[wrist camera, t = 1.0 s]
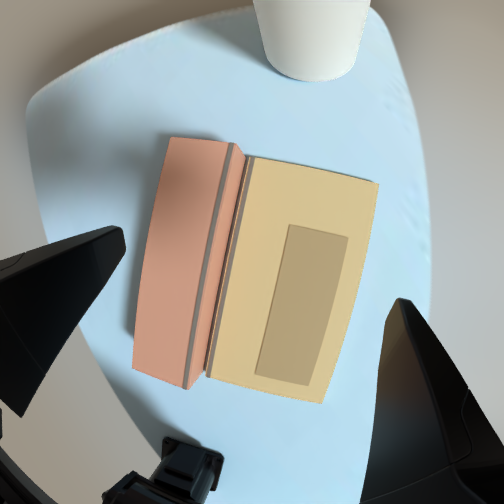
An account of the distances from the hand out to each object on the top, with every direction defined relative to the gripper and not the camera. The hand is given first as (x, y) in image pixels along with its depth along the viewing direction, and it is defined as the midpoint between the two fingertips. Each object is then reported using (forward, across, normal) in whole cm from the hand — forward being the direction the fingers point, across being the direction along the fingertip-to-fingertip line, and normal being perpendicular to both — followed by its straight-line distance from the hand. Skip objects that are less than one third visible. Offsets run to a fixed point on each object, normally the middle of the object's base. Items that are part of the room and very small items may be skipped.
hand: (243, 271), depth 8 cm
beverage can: (+21, +2, -9) cm, 23 cm away
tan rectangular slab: (+10, 0, +9) cm, 14 cm away
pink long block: (+10, +7, +9) cm, 15 cm away
